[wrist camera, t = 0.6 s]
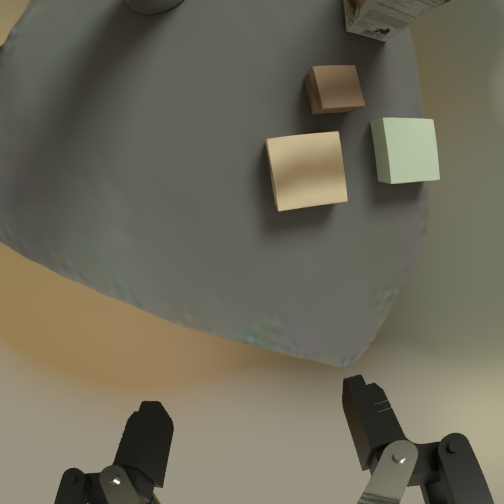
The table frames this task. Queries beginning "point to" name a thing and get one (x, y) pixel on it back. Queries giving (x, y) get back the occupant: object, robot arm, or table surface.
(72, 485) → the robot arm
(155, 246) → the table surface
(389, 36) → the coffee box
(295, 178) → the oak base block
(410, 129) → the sage base block
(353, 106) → the walnut cube
